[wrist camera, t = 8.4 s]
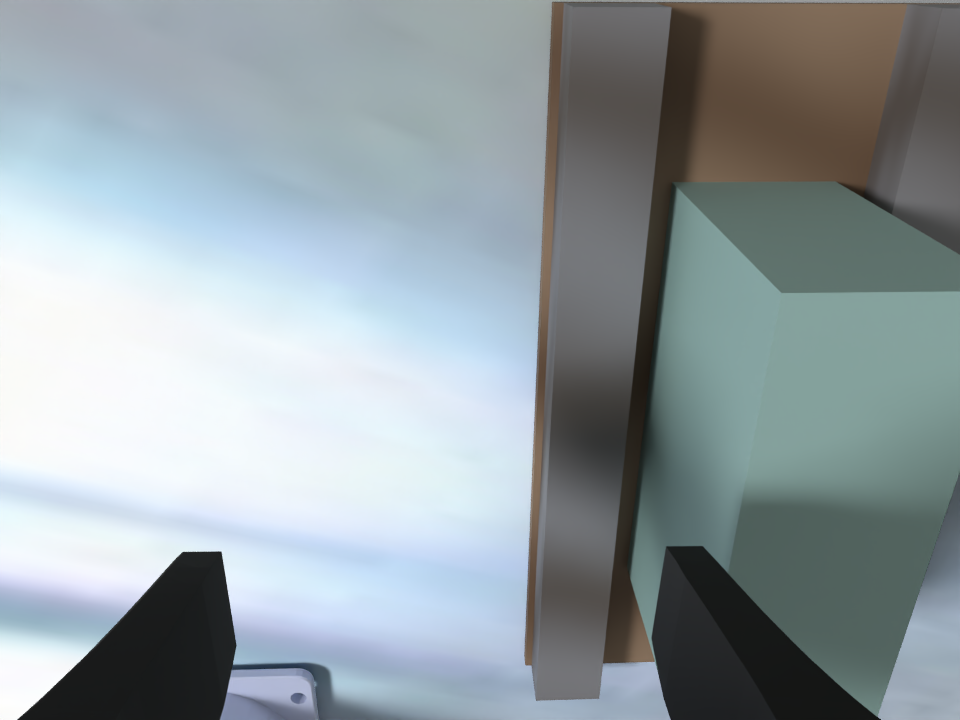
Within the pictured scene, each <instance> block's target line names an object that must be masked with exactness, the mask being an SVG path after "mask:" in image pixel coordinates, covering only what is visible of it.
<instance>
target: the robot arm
mask: <svg viewBox="0 0 960 720" xmlns="http://www.w3.org/2000/svg"><path fill="white" fill-rule="evenodd" d="M651 639H652V645H653V650H654V655H655V660H656V665H657V670H658V674H659V679H660V683H661V688H662V692H663V697H664V700H665V703H666V707H667V710H668V713H669V716H670V719H671V720H881V719H879V718H878V717H877V716H876V715H874V714H873V713H872V712H871V711H869V710H868V709H867V708H866V707H864V706H863V705H862V704H861V703H859V702H858V701H857V700H856V699H855V698H854V697H852V696H851V695H850V694H849V693H848V692H847V691H845V690H844V689H843V688H842V687H841V686H840V685H839V684H838V683H836V682H835V681H834V680H833V679H832V678H831V677H830V676H829V675H828V674H827V673H825V672H824V671H823V670H822V669H821V668H820V667H819V666H818V665H817V664H816V663H814V662H813V661H812V660H811V659H810V658H809V657H808V656H807V655H806V654H805V653H804V652H803V651H802V650H801V649H800V648H799V647H798V646H797V645H796V644H795V643H794V642H793V641H792V640H791V639H790V638H789V637H788V636H787V635H786V634H785V633H784V632H783V631H782V630H781V629H780V628H779V627H778V626H777V625H776V624H775V623H774V622H773V621H772V620H771V619H770V618H769V617H768V616H767V615H766V614H765V613H764V612H763V611H762V610H761V608H760V607H759V606H758V605H757V604H756V603H755V602H754V601H753V600H752V599H751V598H750V597H749V596H748V595H747V593H746V592H745V591H744V590H743V589H742V588H741V587H740V586H739V585H738V584H737V583H736V581H735V580H734V579H733V578H732V577H731V576H730V575H729V574H728V573H727V572H726V571H725V569H724V568H723V567H722V566H721V565H720V564H719V563H718V562H717V561H716V560H715V558H714V557H713V556H712V555H711V554H710V553H709V552H708V551H707V550H706V549H705V548H704V547H703V546H666V549H665V556H664V562H663V568H662V574H661V581H660V587H659V593H658V599H657V606H656V612H655V618H654V624H653V631H652V637H651ZM235 650H236V640H235V634H234V627H233V621H232V615H231V609H230V602H229V596H228V590H227V584H226V577H225V571H224V565H223V559H222V552H182V553H181V554H180V555H179V556H178V557H177V558H176V559H175V560H174V561H173V562H172V563H171V565H170V566H169V567H168V568H167V569H166V570H165V571H164V572H163V573H162V575H161V576H160V577H159V578H158V579H157V580H156V581H155V582H154V583H153V585H152V586H151V587H150V588H149V589H148V590H147V591H146V592H145V593H144V595H143V596H142V597H141V598H140V599H139V600H138V601H137V602H136V603H135V604H134V606H133V607H132V608H131V609H130V610H129V611H128V612H127V613H126V614H125V615H124V616H123V617H122V619H121V620H120V621H119V622H118V623H117V624H116V625H115V626H114V627H113V628H112V629H111V630H110V631H109V632H108V633H107V634H106V635H105V636H104V637H103V638H102V639H101V640H100V642H99V643H98V644H97V645H96V646H95V647H94V648H93V649H92V650H91V651H90V652H89V653H88V654H87V655H86V656H85V657H84V658H83V659H82V660H81V661H80V662H79V663H78V664H77V665H76V666H75V667H74V668H73V669H71V670H70V671H69V672H68V673H67V674H66V675H65V676H64V677H63V678H62V679H61V680H60V681H59V682H58V683H57V684H56V685H55V686H54V687H53V688H52V689H51V690H50V691H48V692H47V693H46V694H45V695H44V696H43V697H42V698H41V699H40V700H39V701H38V702H37V703H36V704H34V705H33V706H32V707H31V708H30V709H29V710H28V711H27V712H25V713H24V714H23V715H22V716H21V717H20V718H19V719H18V720H319V715H318V707H317V699H316V691H315V683H314V678H313V675H312V674H311V673H310V672H309V671H307V670H305V669H301V668H286V669H251V670H232V666H233V660H234V655H235ZM297 693H302V694H297Z"/></svg>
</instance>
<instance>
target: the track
mask: <svg viewBox="0 0 960 720" xmlns="http://www.w3.org/2000/svg"><path fill="white" fill-rule="evenodd" d="M834 181H836V182H837V183H839V184H841V185H842V186H844V187H846V188H847V189H849V190H851V191H853V192H854V193H856V194H858V195H859V196H861V197H863V198H864V199H866V200H868V201H869V202H871V203H873V204H875V205H876V206H878V207H880V208H881V209H883V210H885V211H886V212H888V213H890V214H892V215H893V216H895V217H897V218H898V219H900V220H902V221H903V222H905V223H907V224H908V225H910V226H912V227H914V228H915V229H917V230H919V231H920V232H922V233H924V234H925V235H927V236H929V237H931V238H932V239H934V240H936V241H937V242H939V243H941V244H942V245H944V246H946V247H947V248H949V249H951V250H953V251H954V252H956V253H958V254H959V255H960V3H719V2H552V22H551V46H550V69H549V93H548V116H547V140H546V163H545V186H544V210H543V233H542V257H541V280H540V304H539V327H538V350H537V374H536V397H535V421H534V444H533V468H532V491H531V514H530V538H529V561H528V585H527V608H526V632H525V655H524V656H525V665H532V673H533V681H534V689H535V697H536V701H538V700H571V699H599V695H600V685H601V676H602V666H603V663H626V662H655V660H654V657H653V653H652V650H651V647H650V643H649V640H648V637H647V633H646V630H645V627H644V623H643V620H642V616H641V613H640V610H639V606H638V603H637V600H636V596H635V593H634V590H633V586H632V583H631V580H630V576H629V573H628V569H627V564H628V556H629V547H630V538H631V530H632V521H633V513H634V504H635V496H636V487H637V478H638V470H639V461H640V453H641V444H642V436H643V427H644V418H645V410H646V401H647V393H648V384H649V376H650V367H651V358H652V350H653V341H654V333H655V324H656V316H657V307H658V298H659V290H660V281H661V273H662V264H663V256H664V247H665V238H666V230H667V221H668V213H669V204H670V196H671V187H672V182H834Z"/></svg>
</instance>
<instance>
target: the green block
mask: <svg viewBox="0 0 960 720" xmlns="http://www.w3.org/2000/svg"><path fill="white" fill-rule="evenodd" d="M959 473H960V255H959V254H958V253H956V252H954V251H953V250H951V249H949V248H947V247H946V246H944V245H942V244H941V243H939V242H937V241H936V240H934V239H932V238H931V237H929V236H927V235H925V234H924V233H922V232H920V231H919V230H917V229H915V228H914V227H912V226H910V225H908V224H907V223H905V222H903V221H902V220H900V219H898V218H897V217H895V216H893V215H892V214H890V213H888V212H886V211H885V210H883V209H881V208H880V207H878V206H876V205H875V204H873V203H871V202H869V201H868V200H866V199H864V198H863V197H861V196H859V195H858V194H856V193H854V192H853V191H851V190H849V189H847V188H846V187H844V186H842V185H841V184H839V183H837V182H836V181H834V182H672V187H671V196H670V204H669V213H668V221H667V230H666V238H665V247H664V256H663V264H662V273H661V281H660V290H659V298H658V307H657V316H656V324H655V333H654V341H653V350H652V358H651V367H650V376H649V384H648V393H647V401H646V410H645V418H644V427H643V436H642V444H641V453H640V461H639V470H638V478H637V487H636V496H635V504H634V513H633V521H632V530H631V538H630V547H629V556H628V564H627V569H628V573H629V576H630V580H631V583H632V586H633V590H634V593H635V596H636V600H637V603H638V606H639V610H640V613H641V616H642V620H643V623H644V627H645V630H646V633H647V637H648V640H649V643H650V647H651V650H652V653H653V657H654V660H655V655H654V650H653V645H652V639H651V637H652V631H653V624H654V618H655V612H656V606H657V599H658V593H659V587H660V581H661V574H662V568H663V562H664V556H665V549H666V546H703V547H704V548H705V549H706V550H707V551H708V552H709V553H710V554H711V555H712V556H713V557H714V558H715V560H716V561H717V562H718V563H719V564H720V565H721V566H722V567H723V568H724V569H725V571H726V572H727V573H728V574H729V575H730V576H731V577H732V578H733V579H734V580H735V581H736V583H737V584H738V585H739V586H740V587H741V588H742V589H743V590H744V591H745V592H746V593H747V595H748V596H749V597H750V598H751V599H752V600H753V601H754V602H755V603H756V604H757V605H758V606H759V607H760V608H761V610H762V611H763V612H764V613H765V614H766V615H767V616H768V617H769V618H770V619H771V620H772V621H773V622H774V623H775V624H776V625H777V626H778V627H779V628H780V629H781V630H782V631H783V632H784V633H785V634H786V635H787V636H788V637H789V638H790V639H791V640H792V641H793V642H794V643H795V644H796V645H797V646H798V647H799V648H800V649H801V650H802V651H803V652H804V653H805V654H806V655H807V656H808V657H809V658H810V659H811V660H812V661H813V662H814V663H816V664H817V665H818V666H819V667H820V668H821V669H822V670H823V671H824V672H825V673H827V674H828V675H829V676H830V677H831V678H832V679H833V680H834V681H835V682H836V683H838V684H839V685H840V686H841V687H842V688H843V689H844V690H845V691H847V692H848V693H849V694H850V695H851V696H852V697H854V698H855V699H856V700H857V701H858V702H859V703H861V704H862V705H863V706H864V707H866V708H867V709H868V710H869V711H871V712H872V713H873V714H874V715H876V716H878V713H879V710H880V707H881V704H882V701H883V698H884V695H885V692H886V689H887V686H888V683H889V680H890V677H891V674H892V671H893V668H894V665H895V662H896V659H897V657H898V654H899V651H900V648H901V645H902V642H903V639H904V636H905V633H906V630H907V627H908V624H909V621H910V618H911V615H912V612H913V609H914V606H915V603H916V600H917V597H918V594H919V591H920V588H921V585H922V583H923V580H924V577H925V574H926V571H927V568H928V565H929V562H930V559H931V556H932V553H933V550H934V547H935V544H936V541H937V538H938V535H939V532H940V529H941V526H942V523H943V520H944V517H945V514H946V511H947V508H948V506H949V503H950V500H951V497H952V494H953V491H954V488H955V485H956V482H957V479H958V476H959ZM655 663H656V660H655ZM656 667H657V665H656Z"/></svg>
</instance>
